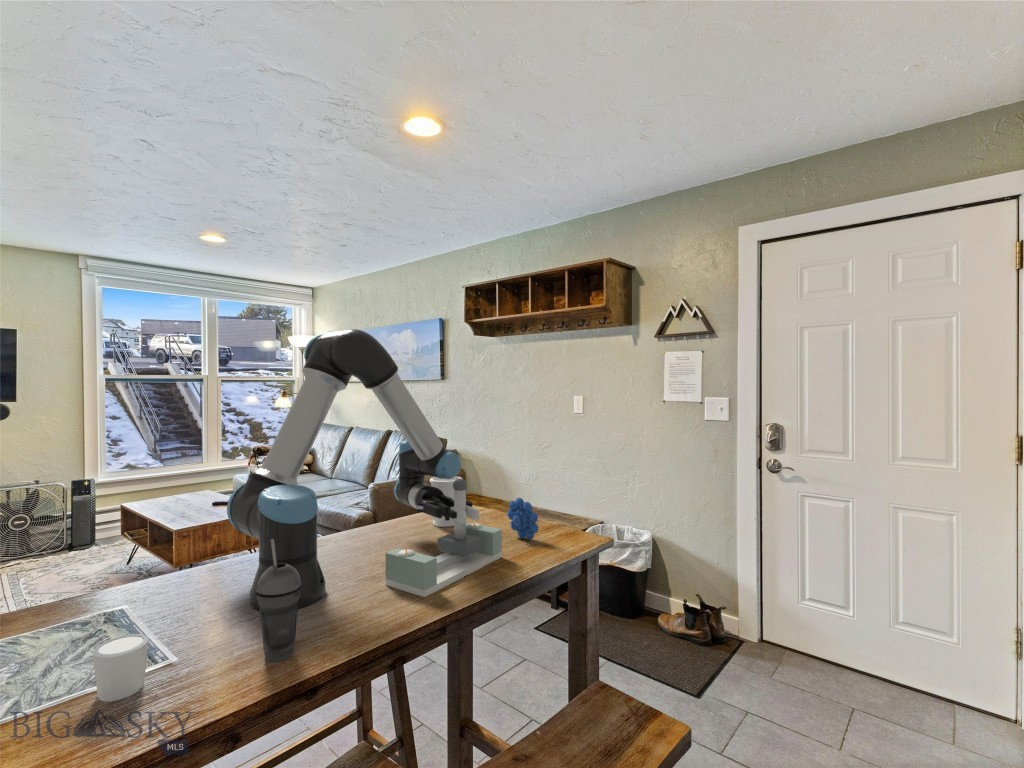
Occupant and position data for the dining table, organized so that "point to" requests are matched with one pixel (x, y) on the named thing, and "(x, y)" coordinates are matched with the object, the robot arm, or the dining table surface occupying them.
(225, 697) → the dining table surface
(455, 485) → the carriage
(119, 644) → the white cylinder
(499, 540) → the rail stand
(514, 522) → the grapes
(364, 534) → the dining table surface
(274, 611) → the beverage cup
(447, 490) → the jar
